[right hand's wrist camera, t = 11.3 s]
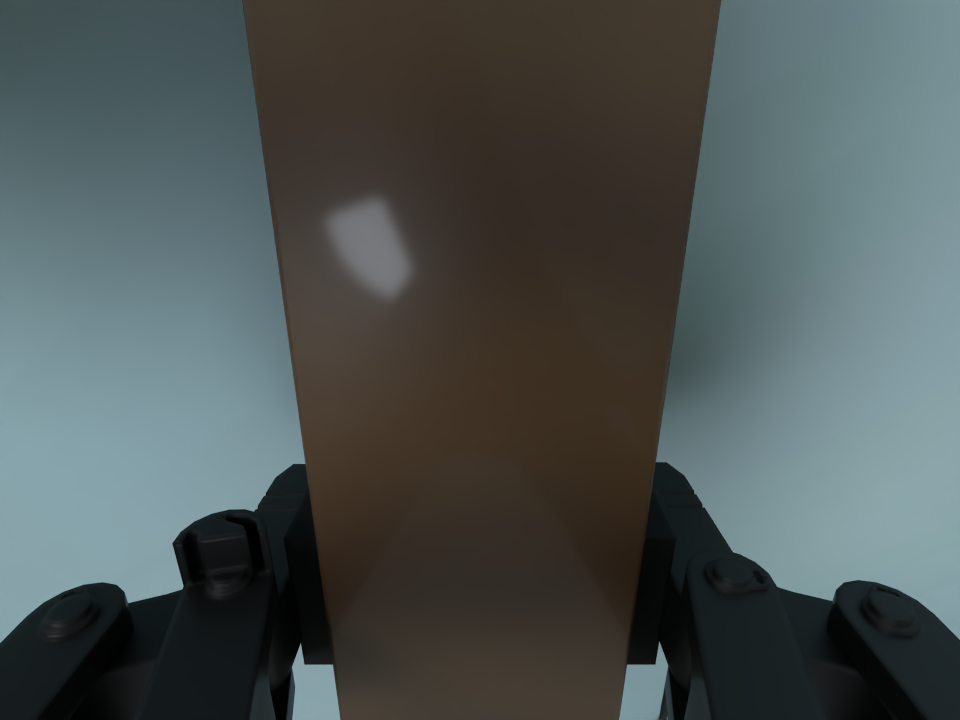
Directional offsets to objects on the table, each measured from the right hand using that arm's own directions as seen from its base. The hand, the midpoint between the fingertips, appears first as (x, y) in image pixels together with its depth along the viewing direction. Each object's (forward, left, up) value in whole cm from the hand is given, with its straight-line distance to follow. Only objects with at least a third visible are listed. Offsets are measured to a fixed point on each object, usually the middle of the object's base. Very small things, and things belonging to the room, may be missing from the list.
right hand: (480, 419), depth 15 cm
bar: (+27, +20, -1) cm, 33 cm away
